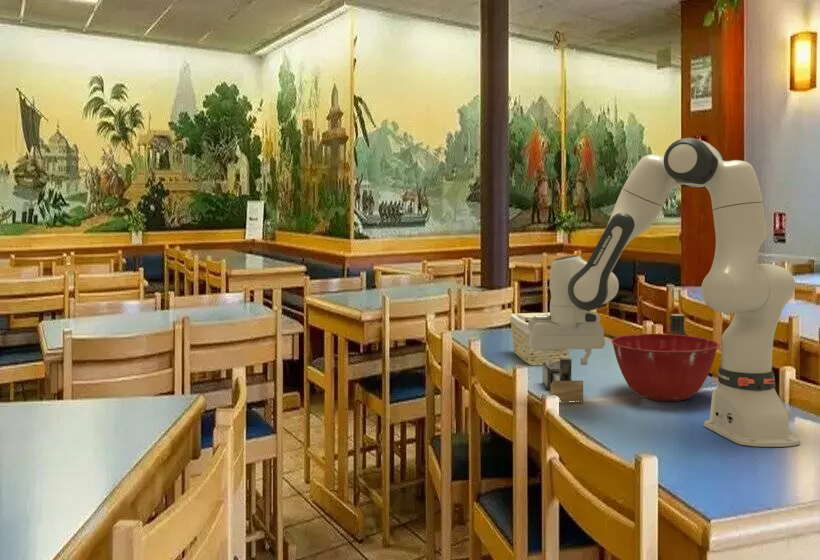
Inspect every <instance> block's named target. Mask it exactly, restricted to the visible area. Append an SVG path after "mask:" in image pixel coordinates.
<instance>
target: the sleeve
mask: <svg viewBox="0 0 820 560" xmlns="http://www.w3.org/2000/svg"><path fill="white" fill-rule="evenodd" d="M552 372H560V362H553V366H547V364H546V362H543V365H542V385H543V384H544V385H543V386H544V388H545V387H546V388H545V390H546V391H547V390H550V383H552Z"/></svg>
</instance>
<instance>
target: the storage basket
mask: <svg viewBox="0 0 820 560" xmlns="http://www.w3.org/2000/svg"><path fill="white" fill-rule="evenodd" d="M534 316H550V311H549V312H530V313H529V312H527V313H526V312H525V313H523V312H521V313H511V314H510V319H509V321H510V327H511V330H512V331H511V334H512V335H511V336H512V346H513V352H514V354H516V356H518V358H520V359H521V360H522V361H523V362H525V363H526V364H527V365H529V366H533V365H534V366H543V362H546V358H545V356H544V355H543V353H542V350H533V349H531V347H530V346H529V338H530V331H529V329H528V322H529V320H530V319H531V318H533V317H534ZM532 320H534V319H532ZM527 321H528V322H527ZM570 350H571V349H563V350H548V354H547V356H548V358H549V359H552V360H553V362H560V359H562V358H568V359H570V352H571V351H570Z"/></svg>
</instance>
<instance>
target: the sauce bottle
mask: <svg viewBox="0 0 820 560" xmlns="http://www.w3.org/2000/svg"><path fill="white" fill-rule="evenodd" d="M669 316H670V319H669V320H670V331H669V332H668V333H667V334H672V335H685V336H687V334H686V331H685V315H684V314H681V313H672V314H670V315H669Z"/></svg>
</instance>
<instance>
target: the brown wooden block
mask: <svg viewBox="0 0 820 560" xmlns="http://www.w3.org/2000/svg"><path fill="white" fill-rule="evenodd" d="M550 395H556V396H558V397H559V398H560V400H561V402H569V401H575V402H576V401H577V402H578V401H579V402H583V403H584V381H583V380H572V381H552V383H550Z"/></svg>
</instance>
